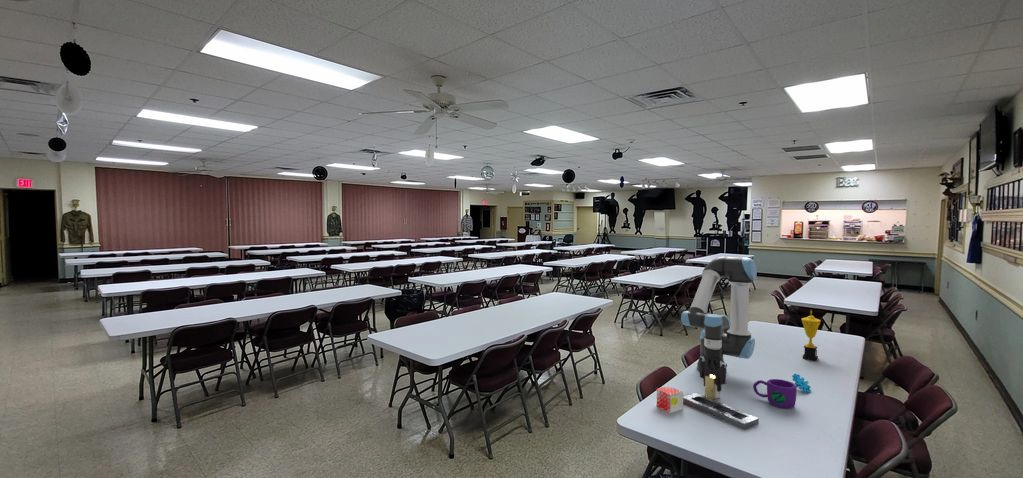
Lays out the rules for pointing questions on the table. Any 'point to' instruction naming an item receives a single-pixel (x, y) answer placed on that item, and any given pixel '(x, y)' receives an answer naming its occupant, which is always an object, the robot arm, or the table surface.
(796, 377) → the gear
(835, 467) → the table surface
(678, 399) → the red patterned cube
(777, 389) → the mug
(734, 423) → the rail
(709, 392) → the brass peg
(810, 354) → the trophy
